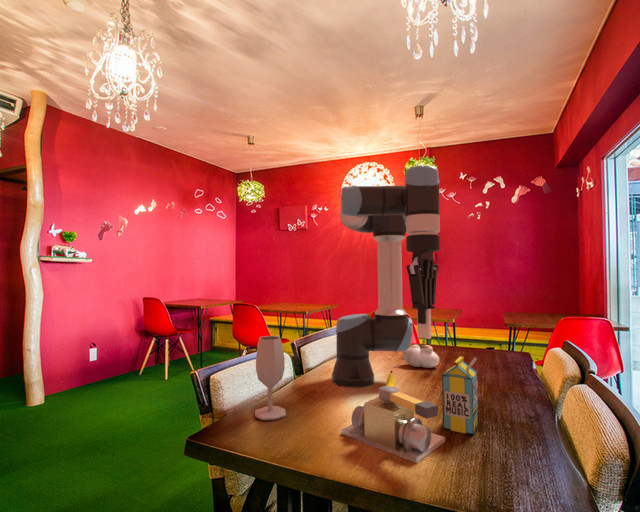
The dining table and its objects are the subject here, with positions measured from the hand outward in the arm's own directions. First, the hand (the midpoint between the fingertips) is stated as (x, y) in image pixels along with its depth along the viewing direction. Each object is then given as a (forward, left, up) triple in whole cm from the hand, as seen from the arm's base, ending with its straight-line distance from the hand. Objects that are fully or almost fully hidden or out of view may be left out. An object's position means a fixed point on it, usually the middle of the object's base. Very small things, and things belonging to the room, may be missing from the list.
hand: (424, 337), depth 84 cm
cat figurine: (-34, +61, -24) cm, 74 cm away
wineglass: (-39, -13, -24) cm, 48 cm away
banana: (-22, +19, -24) cm, 38 cm away
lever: (-1, -7, -14) cm, 15 cm away
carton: (+3, +14, -24) cm, 28 cm away
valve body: (-7, -3, -24) cm, 25 cm away
